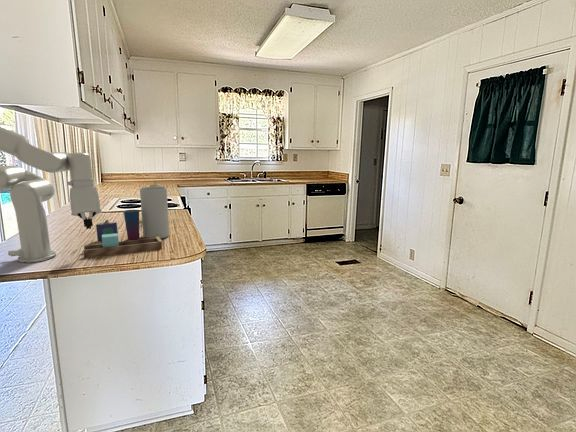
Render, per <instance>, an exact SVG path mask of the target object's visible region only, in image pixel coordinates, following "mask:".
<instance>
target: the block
mask: <svg viewBox="0 0 576 432" xmlns="http://www.w3.org/2000/svg"><path fill="white" fill-rule="evenodd" d="M101 242H102V243H101V244H103V248H105V247H114V246H119V242H120V241H119V233H115V234H104V235H102V241H101Z"/></svg>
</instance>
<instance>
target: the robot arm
mask: <svg viewBox="0 0 576 432" xmlns="http://www.w3.org/2000/svg"><path fill="white" fill-rule="evenodd" d="M0 151H1V152H3V153H6V154H8V155H11V156H13V157H15V158H16V159H18V160H19V161H20V162H21V163H23V164H25V165H28V166H29V167H32V168H34V169H37V170H40V171H42V172H45V173H50V174H51V173H54V174H55V173H62V172H68V171H69V172H70V174H69V175H70V181H66V182H67V186H71V187H70V188H69V203H70V209H71V212H70V213H71V216H74V217H79V218H80V219H81V220H82V221H83V226H84V228H86V230H88V229H89V230H90V229H92V227H93V225H94V223H93V218H94V217H95V216H96V215H98V214H102V208H101V203H100V202H101V201H100V196H99V192H98V189H97V186H95V185H94V184H95V182H94V176H93V168H92V160H91V155H90V154H89V153H87V152H71V153H70V152H61V151H59V152H58V151H57V152H50V151H47V150H44V149H42V148H40V147H37V146H34V145H33V144H31V143H30V139H29V138H28V137H27V136H25V135H23V134H20V133H18V132H15V131H14V130H13V129H12V127H10V126H9V125H8V124H5V123H2V122H0ZM4 191H5V192H6V191H10V192H9V197H10V200H11V202H12V205H13V207H14V208H13V209H14V212H15V217H16V223H17V230H18V235H19V244H20V248H19V249H17V250H14V249H13V250H7V251H8V252H7V255H8V256H10V257H17V256H18V257H17V261H18V262H19V261H20V262H19V263H24V262H26V263H39V262H44V261H49V260H50V259H53V258H55V257H56V255H57V253H56V252H55V251H54V250H52V249H51V242H50V234H49V233H50V232H49V228H48V227H49V226H48V218H47V214H46V211H45V208H44V206H43V204H42V203H44V202H46V201H49V200H51V199H52V198H53V197H54V194H55V188H54V185H53V184H52V183H51V182H50V181H49V180H47V179H45V178H44V177H42V176H40V175H38V174H35V173H34V172H32V171H30V170H28V169H25V168H23V167H21V166H17V165H0V192H4ZM86 213H88V217H87V216H86Z"/></svg>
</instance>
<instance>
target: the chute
mask: <svg viewBox="0 0 576 432" xmlns="http://www.w3.org/2000/svg"><path fill="white" fill-rule="evenodd" d="M118 242H119V246H114V247H105V248H103V244H102V243H95V244H93V243H92V244H84V245H83V250H82V253H83V259H90V258H98V257H99V258H100V257H101V258H102V257H107V256H109V257H110V256H116V255H117V256H118V255H126V254H133V253H141V252H149V251H155V250H156V251H158V250H159V251H160V250H163V243H162V239H160V237H156V238H141V239H140V238H139V239H138V240H124V241H118Z"/></svg>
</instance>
